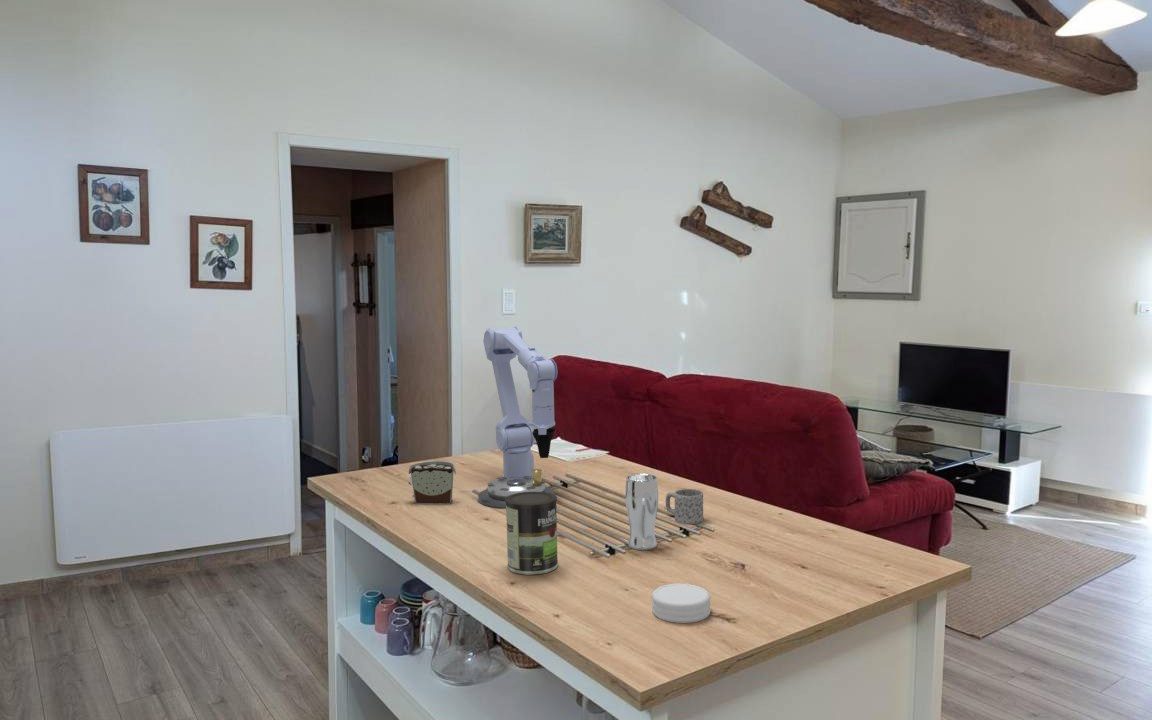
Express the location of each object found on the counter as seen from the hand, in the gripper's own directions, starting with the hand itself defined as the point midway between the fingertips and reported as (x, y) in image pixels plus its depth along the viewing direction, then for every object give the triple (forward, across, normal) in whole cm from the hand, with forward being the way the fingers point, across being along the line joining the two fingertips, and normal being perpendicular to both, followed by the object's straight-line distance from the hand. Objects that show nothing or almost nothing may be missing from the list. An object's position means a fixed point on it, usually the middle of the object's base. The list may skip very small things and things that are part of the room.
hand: (544, 456), depth 221 cm
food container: (+11, +4, -28) cm, 31 cm away
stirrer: (+11, -9, -35) cm, 38 cm away
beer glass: (+11, +42, +23) cm, 49 cm away
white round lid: (+11, +78, +27) cm, 83 cm away
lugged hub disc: (+9, +2, -7) cm, 12 cm away
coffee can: (+11, +54, 0) cm, 55 cm away
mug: (+11, +23, +34) cm, 42 cm away
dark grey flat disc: (+10, +2, -7) cm, 13 cm away
